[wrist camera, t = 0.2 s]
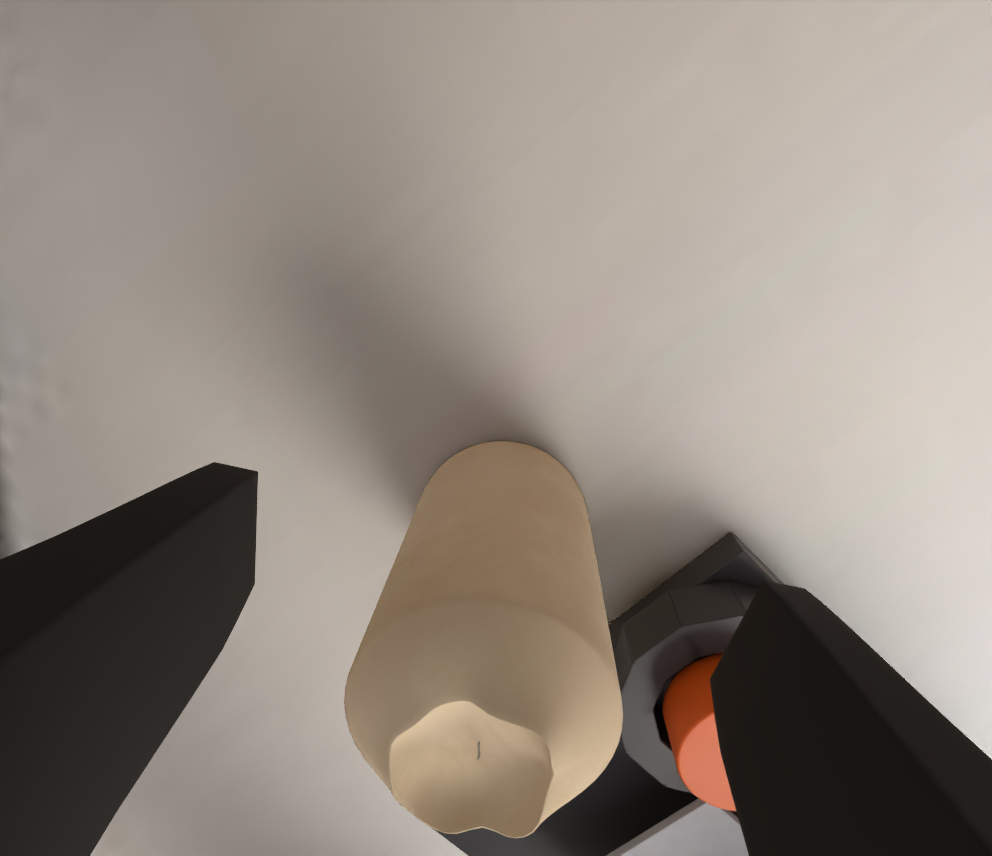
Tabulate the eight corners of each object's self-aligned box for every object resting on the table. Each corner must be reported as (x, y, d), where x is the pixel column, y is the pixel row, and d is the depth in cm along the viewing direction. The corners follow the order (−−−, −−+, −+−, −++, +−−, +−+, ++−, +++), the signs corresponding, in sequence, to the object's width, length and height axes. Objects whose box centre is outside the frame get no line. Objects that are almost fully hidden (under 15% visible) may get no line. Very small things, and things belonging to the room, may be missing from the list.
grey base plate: (655, 968, 27) (670, 1057, 24) (398, 770, 24) (379, 844, 21) (988, 790, 22) (1054, 874, 20) (722, 522, 19) (754, 573, 17)
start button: (717, 773, 20) (737, 834, 18) (635, 700, 19) (646, 755, 17) (822, 707, 18) (855, 765, 16) (738, 627, 18) (764, 677, 16)
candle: (527, 406, 19) (520, 596, 9) (618, 540, 20) (694, 827, 10) (387, 493, 20) (254, 739, 10) (481, 613, 21) (439, 928, 12)
